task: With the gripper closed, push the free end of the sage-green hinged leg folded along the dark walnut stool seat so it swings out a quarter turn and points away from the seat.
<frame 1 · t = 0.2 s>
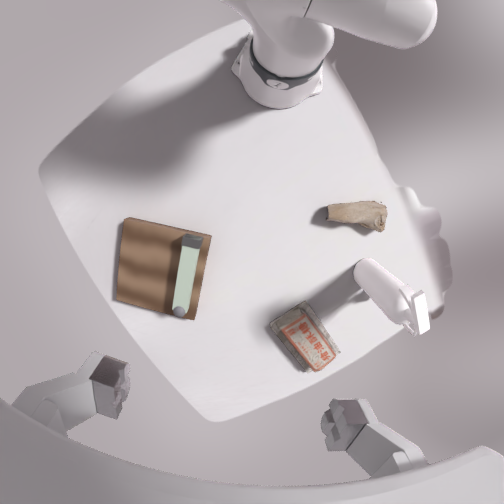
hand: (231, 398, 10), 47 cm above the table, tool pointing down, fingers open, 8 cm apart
fire extinguisher: (365, 275, 60), on the table
stool seat: (162, 267, 57), on the table
hinged leg: (185, 277, 53), point 5 cm above the table, hinge at 0.0°, touching stool seat
packaged product: (306, 337, 63), on the table
bone fragment: (354, 215, 56), on the table
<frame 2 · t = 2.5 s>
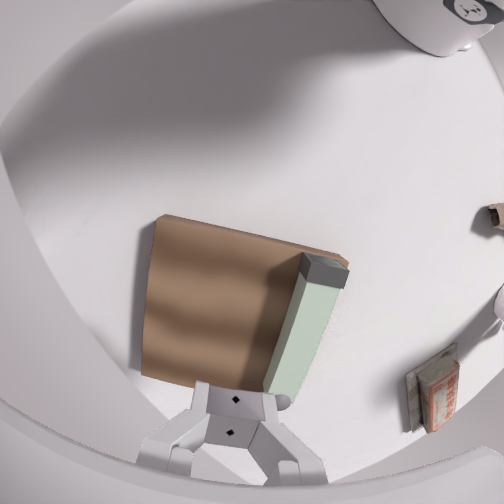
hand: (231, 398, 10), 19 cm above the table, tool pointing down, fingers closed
fire extinguisher: (502, 303, 32), on the table
stool seat: (234, 315, 29), on the table
hinged leg: (298, 341, 25), point 5 cm above the table, hinge at 0.0°, touching stool seat
packaged product: (430, 389, 36), on the table
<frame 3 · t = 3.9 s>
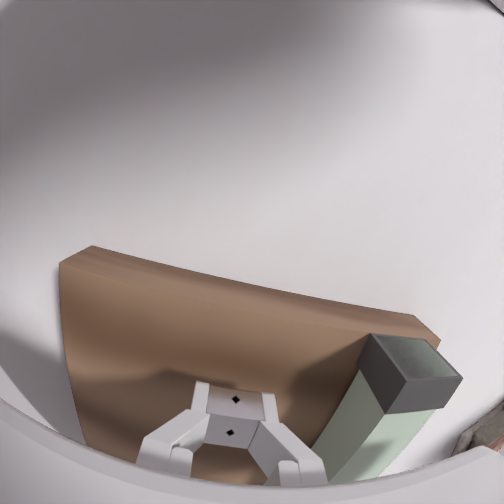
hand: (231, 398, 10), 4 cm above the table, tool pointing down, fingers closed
stool seat: (228, 414, 15), on the table
hinged leg: (338, 468, 11), point 5 cm above the table, hinge at 0.0°, touching stool seat
packaged product: (472, 443, 22), on the table
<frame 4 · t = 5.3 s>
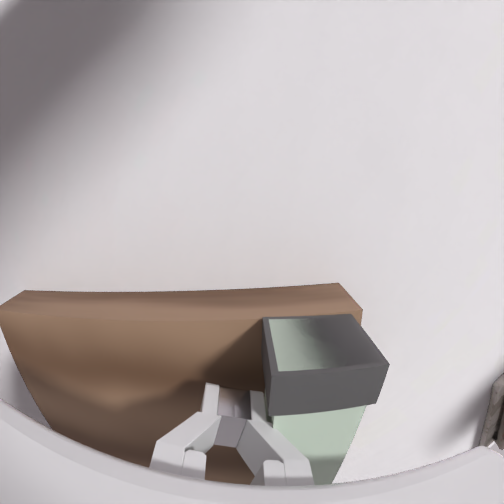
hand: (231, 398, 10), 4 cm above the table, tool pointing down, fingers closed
stool seat: (181, 419, 15), on the table
hinged leg: (293, 469, 10), point 5 cm above the table, hinge at 3.2°, touching gripper, stool seat
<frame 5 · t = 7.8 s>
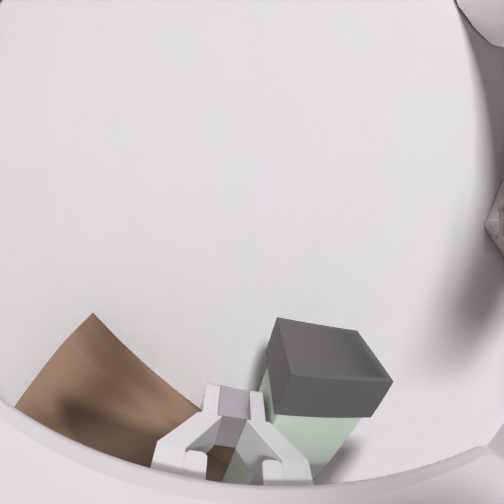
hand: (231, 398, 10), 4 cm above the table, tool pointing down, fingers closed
fire extinguisher: (487, 23, 9), on the table
stool seat: (129, 450, 16), on the table
hinged leg: (265, 473, 10), point 5 cm above the table, hinge at 54.3°, touching gripper
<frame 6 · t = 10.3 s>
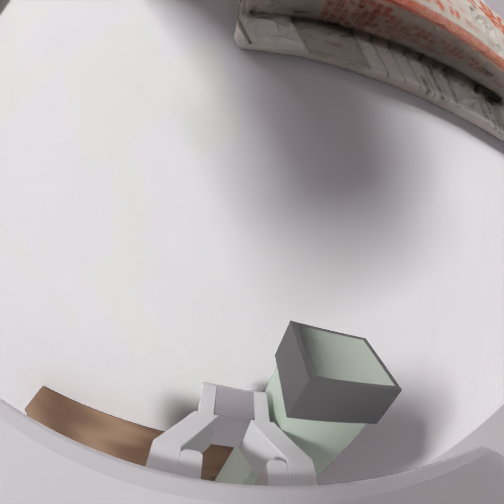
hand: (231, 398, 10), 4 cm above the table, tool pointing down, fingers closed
stool seat: (151, 479, 17), on the table
hinged leg: (262, 474, 10), point 5 cm above the table, hinge at 95.1°, touching gripper
packaged product: (400, 28, 10), on the table
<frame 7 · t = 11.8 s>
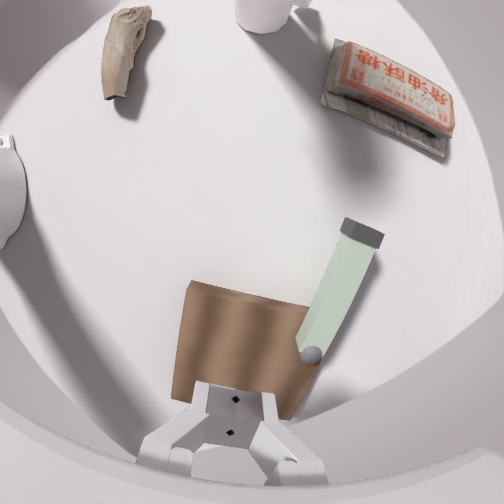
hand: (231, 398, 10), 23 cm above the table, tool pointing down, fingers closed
fire extinguisher: (269, 15, 25), on the table
stool seat: (246, 355, 36), on the table
hinged leg: (334, 295, 29), point 5 cm above the table, hinge at 95.0°
packaged product: (390, 98, 28), on the table
bone fragment: (132, 54, 26), on the table
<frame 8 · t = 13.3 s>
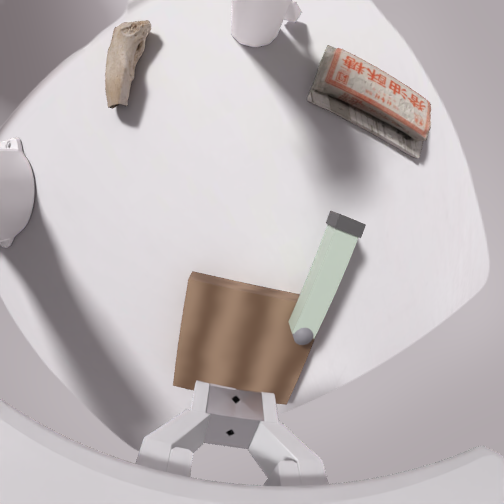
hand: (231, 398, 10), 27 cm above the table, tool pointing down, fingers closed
fire extinguisher: (262, 29, 29), on the table
stool seat: (243, 341, 39), on the table
hinged leg: (322, 281, 33), point 5 cm above the table, hinge at 95.0°
packaged product: (372, 102, 32), on the table
bone fragment: (133, 65, 29), on the table
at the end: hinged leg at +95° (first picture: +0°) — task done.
